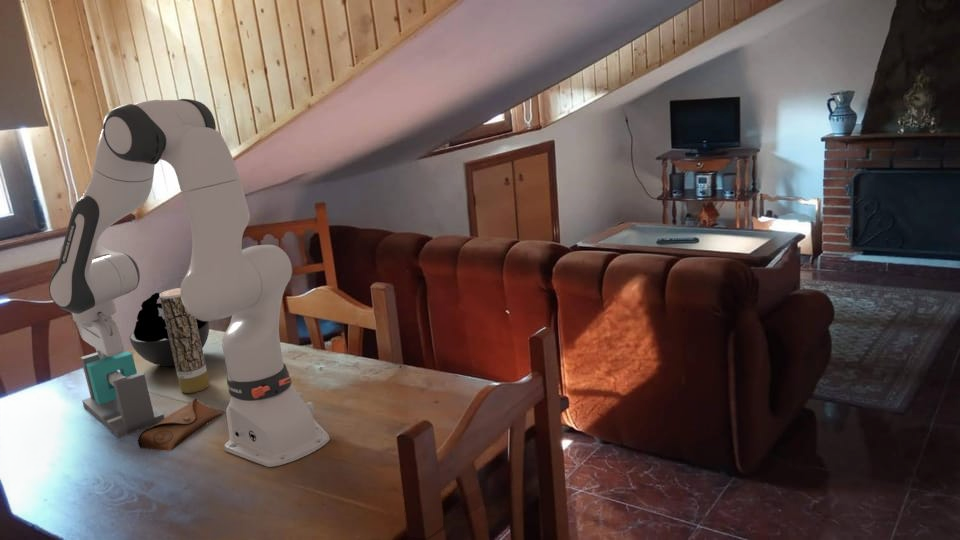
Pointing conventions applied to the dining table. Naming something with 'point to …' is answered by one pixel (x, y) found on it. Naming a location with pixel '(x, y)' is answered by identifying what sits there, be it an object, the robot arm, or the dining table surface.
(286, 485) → the dining table surface
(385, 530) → the dining table surface
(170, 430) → the sunglasses case
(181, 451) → the dining table surface
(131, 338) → the bowl of black rocks
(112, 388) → the teal upright slab
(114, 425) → the pipe stand
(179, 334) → the log-textured cylinder
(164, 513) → the dining table surface
